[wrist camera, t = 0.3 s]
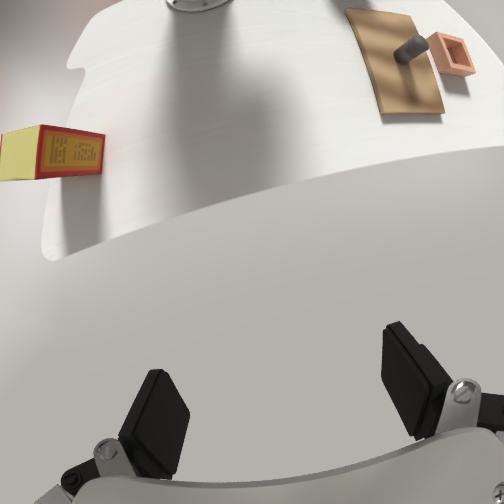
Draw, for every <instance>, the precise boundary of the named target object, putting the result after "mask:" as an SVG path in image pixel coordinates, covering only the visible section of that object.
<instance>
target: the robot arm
mask: <svg viewBox="0 0 504 504" xmlns="http://www.w3.org/2000/svg"><path fill="white" fill-rule="evenodd" d="M226 1H228V0H167V2H168V4H169V5H170V6H171V7H173V8H175V9H177V10H180V11H186V12H196V11H204V10H208V9H211V8H214V7H217V6H219V5H221V4H223V3H225V2H226ZM382 350H383V351H382V369H381V370H382V371H381V378H382V381H383V383H384V386H385V387H386V389H387V391H388V393H389V395H390V397H391V399H392V401H393V403H394V405H395V407H396V409H397V411H398V413H399V415H400V417H401V419H402V421H403V423H404V426H405V428H406V430H407V432H408V434H409V435H410V436H414V438H415V440H416V441H418V440H420V439H422V438H425V440H422V441H420V442H417V443H414V444H411V445H409V446H406V447H404V448H401V449H399V450H396V451H393V452H390V453H387V454H385V455H382V456H378V457H376V458H372V459H369V460H366V461H363V462H359V463H356V464H352V465H348V466H345V467H341V468H337V469H332V470H328V471H323V472H319V473H313V474H308V475H302V476H296V477H290V478H283V479H274V480H264V481H251V482H232V483H231V482H230V483H229V482H228V483H205V482H204V483H203V482H184V481H171V480H172V475H173V474H175V473H176V471H177V467H178V463H179V459H180V455H181V451H182V446H183V443H184V439H185V435H186V431H187V427H188V423H189V419H190V412H189V409H188V408H187V406H186V404H185V403H184V401H183V399H182V397H181V396H180V394H179V392H178V390H177V389H176V387H175V385H174V383H173V381H172V379H171V378H170V376H169V374H168V373H167V372H165V371H164V370H163V369H153V370H150V371H149V372H148V374H147V376H146V378H145V380H144V382H143V384H142V386H141V388H140V390H139V392H138V394H137V396H136V398H135V400H134V402H133V405H132V407H131V409H130V411H129V413H128V415H127V417H126V419H125V421H124V424H123V426H122V428H121V430H120V432H119V434H118V436H119V438H118V440H117V439H114V438H108V439H104V440H102V441H100V442H99V443H98V444H97V445H96V447H95V448H94V452H93V453H94V458H92V459H90V460H88V461H86V462H84V463H82V464H80V465H78V466H75V467H73V468H71V469H69V470H67V471H66V472H65V473H64V474H63V475H62V478H61V486H60V485H58V484H57V485H56V486H54V487H53V488H52V489H51V490H49V491H48V492H47V493H46V494H45V495H43V496H42V497H40V498H39V499H38V500H37V501H36V502H35V503H34V504H504V395H497V394H488V393H481V388H480V385H479V384H478V383H477V382H476V381H474V380H472V379H468V378H463V379H459V380H456V381H455V382H454V381H453V380H452V379H451V378H450V376H449V375H448V374H447V373H446V371H445V370H444V369H443V367H442V366H441V365H440V364H439V362H438V361H437V360H436V359H435V357H434V356H433V355H432V354H431V353H430V351H429V350H428V349H427V348H426V346H424V345H423V344H420V345H419V343H418V342H417V341H416V340H415V339H414V337H413V336H412V335H411V334H410V333H409V331H408V330H407V329H406V328H405V327H404V325H403V324H402V323H401V322H400V321H398V322H395V323H392V324H389V325H387V326H386V329H384V330H383V347H382ZM160 479H167V480H160Z"/></svg>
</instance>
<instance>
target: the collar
mask: <svg viewBox="0 0 504 504" xmlns="http://www.w3.org/2000/svg"><path fill="white" fill-rule="evenodd" d="M426 40H427V42H428V45H429V47H430V50H431V52H432V55H433V58H434V60H435V63H436V66H437V69H438V72H439V73H444V74H450V75H456V76H461V77H466V76H469V75H472V74H475V73H476V71H475V69H474V66H473V63H472V60H471V58H470V55H469V53H468V50H467V48H466V45H465V43H464V41H463V39H461V38H457V37H454V36H450V35H447V34H443V33H439V32H436V33H434V34H433V35H431V36H430V37H428V38H427V39H426ZM447 48H451V51H452V53H453V56H454V58H455V61H456V64H455V63H453V62H452V59H451V57H450V54H449V52H448V49H447Z"/></svg>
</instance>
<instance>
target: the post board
mask: <svg viewBox="0 0 504 504" xmlns="http://www.w3.org/2000/svg"><path fill="white" fill-rule="evenodd" d="M345 13H346V15H347V17H348V19H349V22H350V24H351V26H352V29H353V31H354V34H355V36H356V39H357V41H358V44H359V46H360V49H361V52H362V54H363V57H364V60H365V63H366V66H367V69H368V72H369V75H370V78H371V81H372V85H373V88H374V92H375V95H376V99H377V102H378V106H379V110H380V114H443V113H445V110H444V106H443V102H442V98H441V95H440V91H439V88H438V85H437V81H436V78H435V75H434V72H433V69H432V66H431V64H430V61H429V58H428V56H427V53H426V51H427V50H428V49H429V45H428V42H427V41H426V40H425V39H424V38H423V37H422V36H420V35H419V34H418V31H417V29H416V27H415V25H414V23H413V21H412V19H411V17H410V16H408V15H403V14H397V13H391V12H384V11H376V10H367V9H355V8H347V10H346V12H345Z"/></svg>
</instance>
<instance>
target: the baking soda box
mask: <svg viewBox="0 0 504 504" xmlns="http://www.w3.org/2000/svg"><path fill="white" fill-rule="evenodd" d="M104 141H105V135H104V134H98V133H93V132H88V131H82V130H76V129H70V128H63V127H56V126H49V125H37V126H33V127H29V128H24V129H20V130H16V131H12V132H8V133H5V134H2V136H1V145H0V181H17V180H38V179H47V178H56V177H67V176H79V175H93V174H101V173H102V160H103V150H104Z"/></svg>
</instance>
